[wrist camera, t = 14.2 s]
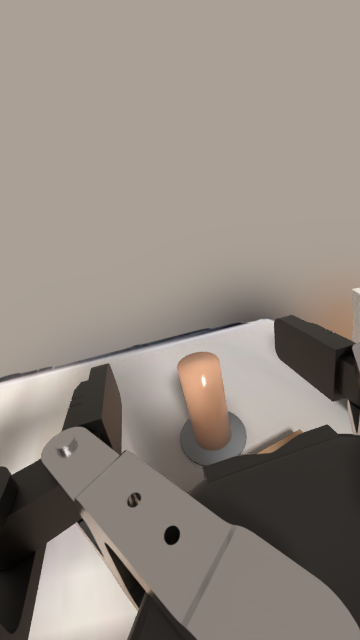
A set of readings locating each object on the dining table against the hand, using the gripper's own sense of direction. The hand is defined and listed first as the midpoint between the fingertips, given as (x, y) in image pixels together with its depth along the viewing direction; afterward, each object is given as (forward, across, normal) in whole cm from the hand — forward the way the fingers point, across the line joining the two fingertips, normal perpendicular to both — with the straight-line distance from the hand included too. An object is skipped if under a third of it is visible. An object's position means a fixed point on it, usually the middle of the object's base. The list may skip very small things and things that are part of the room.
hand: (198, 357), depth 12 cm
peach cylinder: (+18, -4, +24) cm, 31 cm away
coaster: (+18, -4, +25) cm, 31 cm away
